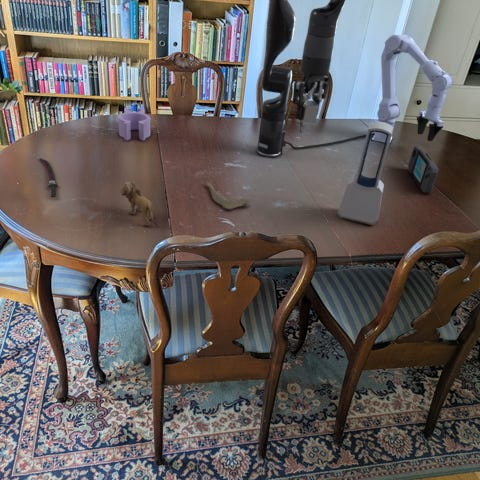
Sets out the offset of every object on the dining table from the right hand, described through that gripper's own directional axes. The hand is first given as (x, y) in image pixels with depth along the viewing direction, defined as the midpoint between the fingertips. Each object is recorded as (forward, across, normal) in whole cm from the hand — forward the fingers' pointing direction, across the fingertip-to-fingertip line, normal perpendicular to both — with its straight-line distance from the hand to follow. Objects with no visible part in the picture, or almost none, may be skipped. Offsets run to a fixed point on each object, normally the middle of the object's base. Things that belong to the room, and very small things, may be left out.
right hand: (424, 137), depth 197 cm
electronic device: (+8, +50, -54) cm, 74 cm away
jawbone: (+8, +34, -92) cm, 98 cm away
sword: (+8, +17, -149) cm, 150 cm away
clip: (+8, -24, -119) cm, 122 cm away
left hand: (-23, +46, -75) cm, 91 cm away
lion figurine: (+8, +44, -121) cm, 129 cm away
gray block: (-23, +46, -75) cm, 91 cm away
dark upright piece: (+8, -31, -48) cm, 57 cm away
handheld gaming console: (+8, +26, -17) cm, 32 cm away
